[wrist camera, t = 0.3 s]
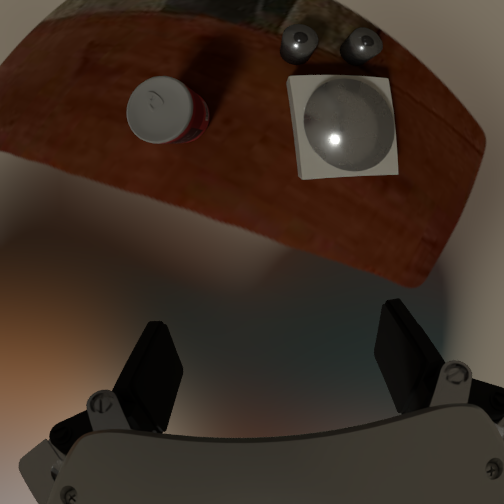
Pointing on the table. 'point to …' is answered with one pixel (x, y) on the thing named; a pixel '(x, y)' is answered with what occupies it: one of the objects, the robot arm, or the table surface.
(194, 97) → the canned food
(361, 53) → the spacer
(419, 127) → the table surface
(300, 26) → the spacer
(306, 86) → the scale
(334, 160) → the pan
